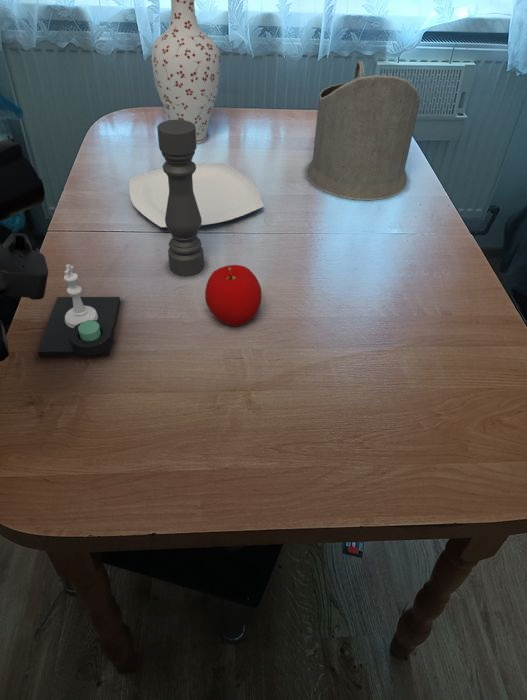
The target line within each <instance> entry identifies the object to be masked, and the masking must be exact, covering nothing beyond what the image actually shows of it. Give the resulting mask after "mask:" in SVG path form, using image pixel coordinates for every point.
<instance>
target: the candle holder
mask: <svg viewBox="0 0 527 700" xmlns="http://www.w3.org/2000/svg"><path fill="white" fill-rule="evenodd" d="M156 130H157V139H158V149H159V151H160V152H161V155H162V157H163V158H164V160H165V162H164V163H163V164H162V168H163V171H164V173H166V174H167V176H168V183H169V196H168V202H167V209H166V215H165V223H166V226H167V228H166V229H167V231H168V232H169V233H170V235H171V238H170V240H169V242H168V247H169V248H168V250H167V254H168V255H167V257H168V262H169V263H168V264H169V269H170V271H171V273H172V274H174V275H177V276H179V277H192V276H193V277H194V276H196V275H199V274H200V273H201V272H203V270H204V268H205V257H204V256H205V255H204V249H203V247H202V245H203V244H202V241H201V238H199V237H198V232H199V230H200V228H201V227H202V226H201V223H202V219H201V215H200V212H199V209H198V206H197V202H196V199H195V196H194V192H193V180H192V175H193V173H194V172H195V170H196V165H195V163H196V162H194V161H193V159H194V156H195V154H196V150H197V148H198V147H197V144H196V127H195V125H194V124H193V123H191V122H189V121H185V120H168V119H167V120H165V121H162V122H160V123H158V125H157V126H156Z"/></svg>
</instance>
